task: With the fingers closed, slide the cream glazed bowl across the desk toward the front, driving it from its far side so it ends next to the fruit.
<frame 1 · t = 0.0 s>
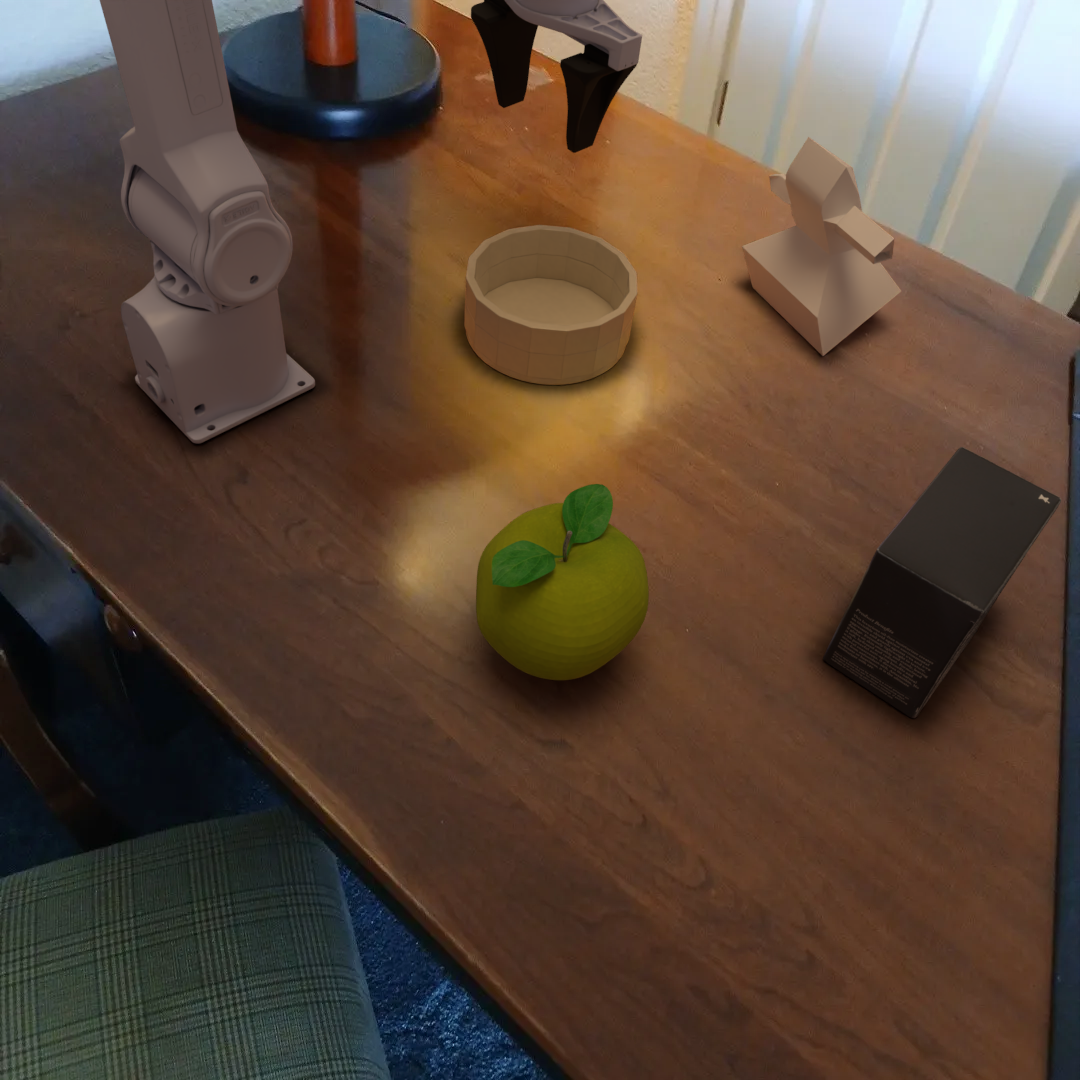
hand: (544, 124, 78), 10 cm above the table, tool pointing down, fingers open, 7 cm apart
bowl: (546, 330, 79), on the table
beige block sculpture: (805, 304, 83), on the table
fruit: (552, 646, 61), on the table
small box: (903, 635, 63), on the table
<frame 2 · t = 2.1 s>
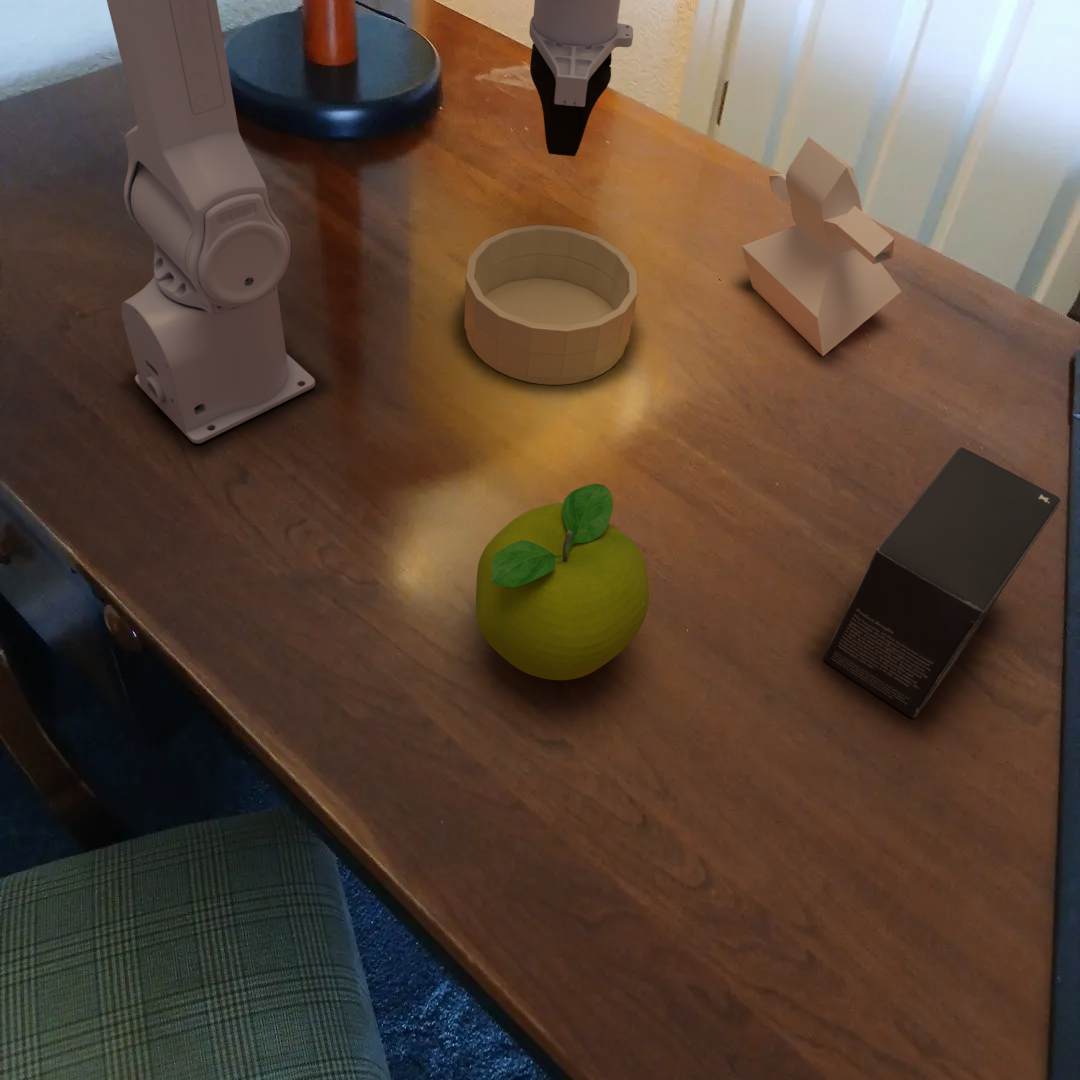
hand: (562, 150, 78), 9 cm above the table, tool pointing down, fingers closed
nothing on the table moved.
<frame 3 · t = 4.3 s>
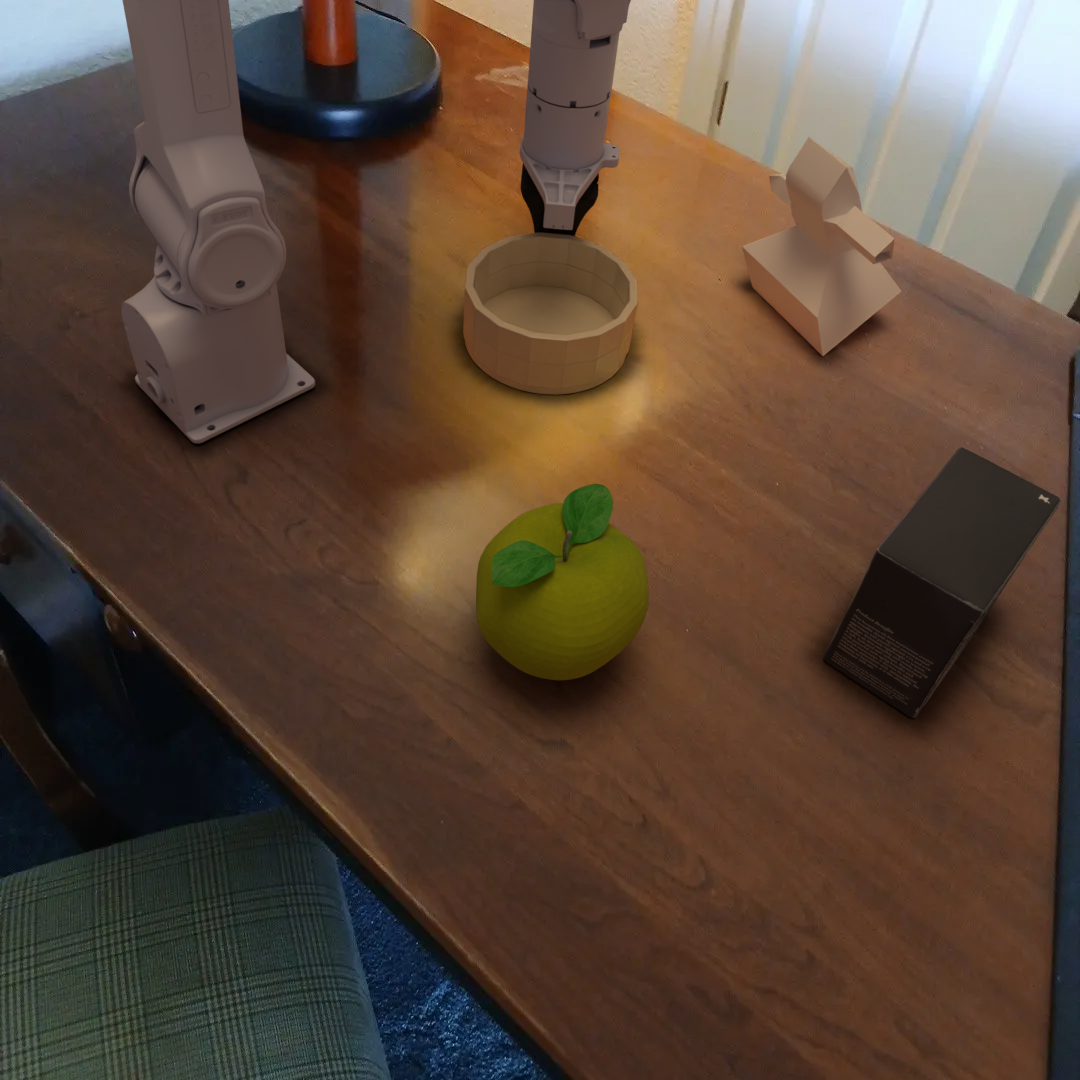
hand: (551, 256, 81), 2 cm above the table, tool pointing down, fingers closed
bowl: (546, 338, 78), on the table, touching gripper
everything else where it was.
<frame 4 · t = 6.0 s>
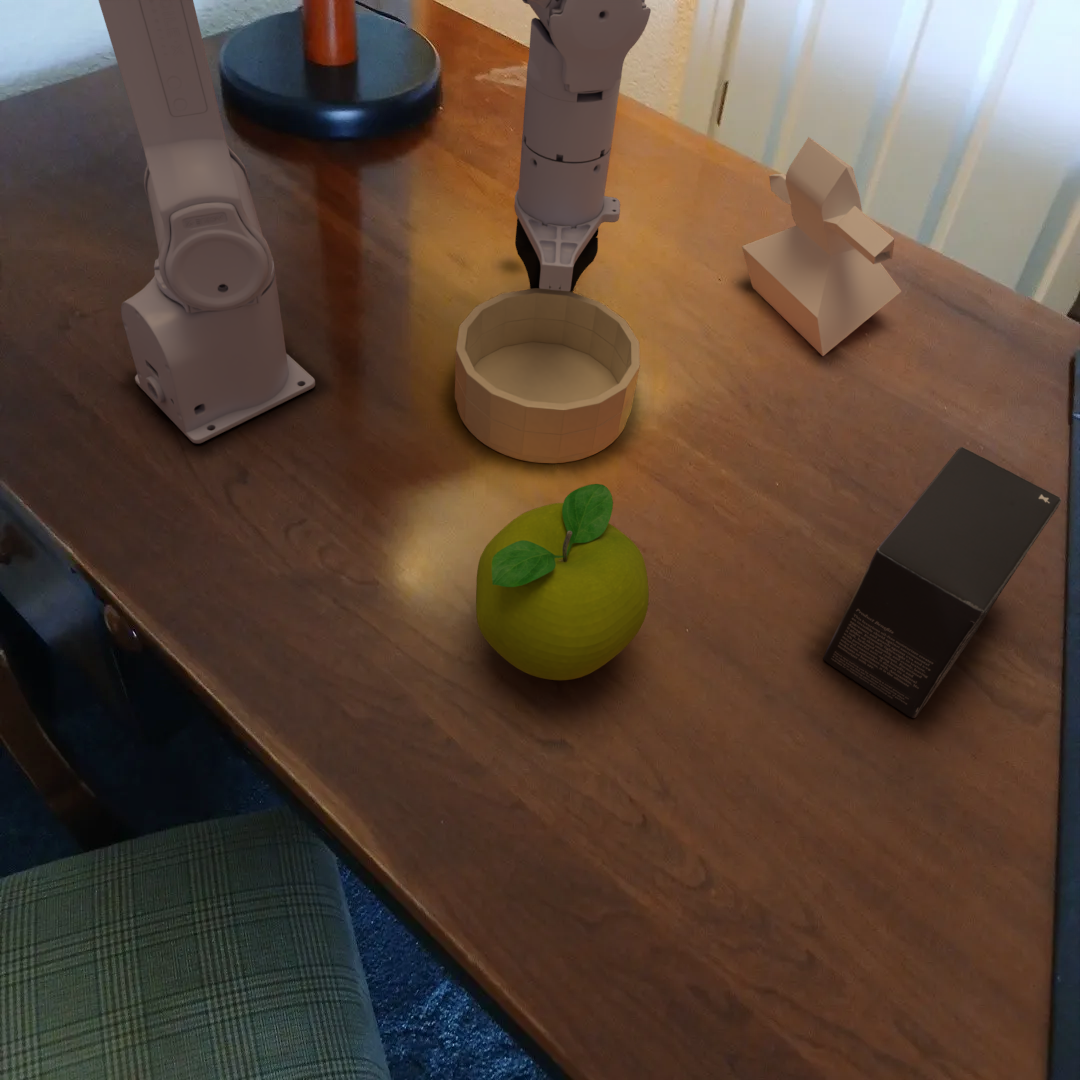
hand: (548, 311, 77), 2 cm above the table, tool pointing down, fingers closed
bowl: (542, 400, 74), on the table, touching gripper
everything else where it was.
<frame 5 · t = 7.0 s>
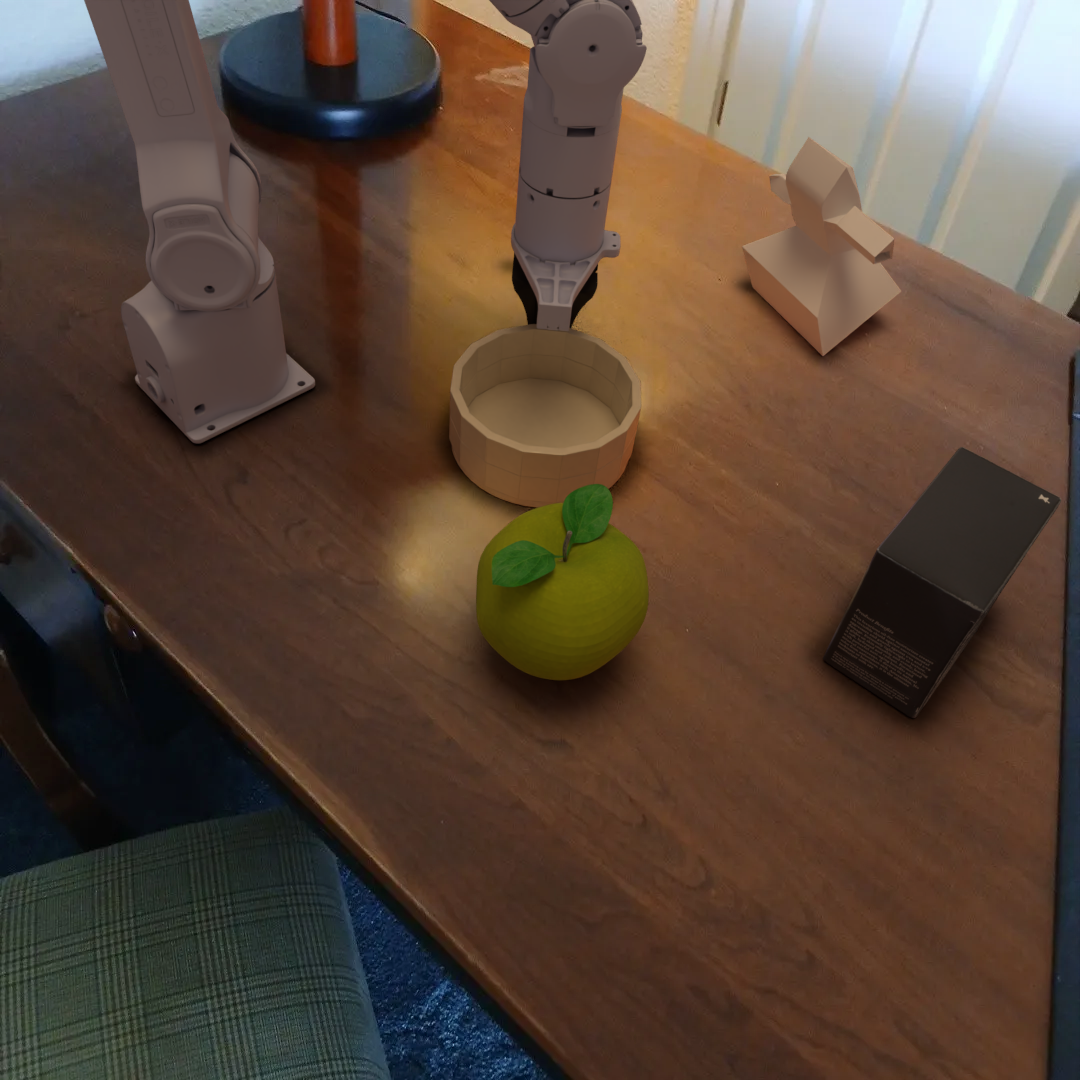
hand: (546, 346, 74), 2 cm above the table, tool pointing down, fingers closed
bowl: (540, 440, 71), on the table, touching gripper
everything else where it was.
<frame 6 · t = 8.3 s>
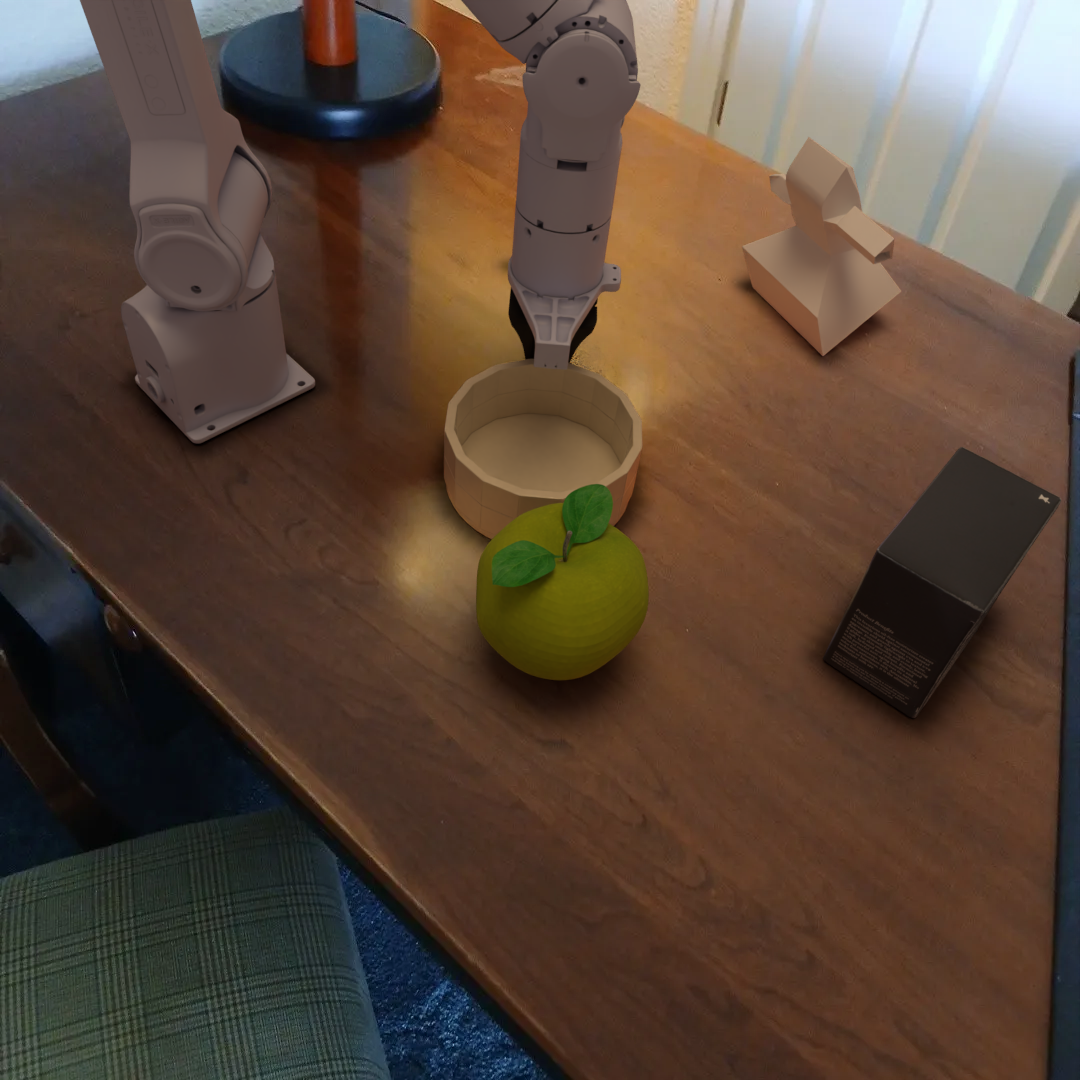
hand: (544, 380, 72), 2 cm above the table, tool pointing down, fingers closed
bowl: (538, 479, 69), on the table, touching gripper
everything else where it was.
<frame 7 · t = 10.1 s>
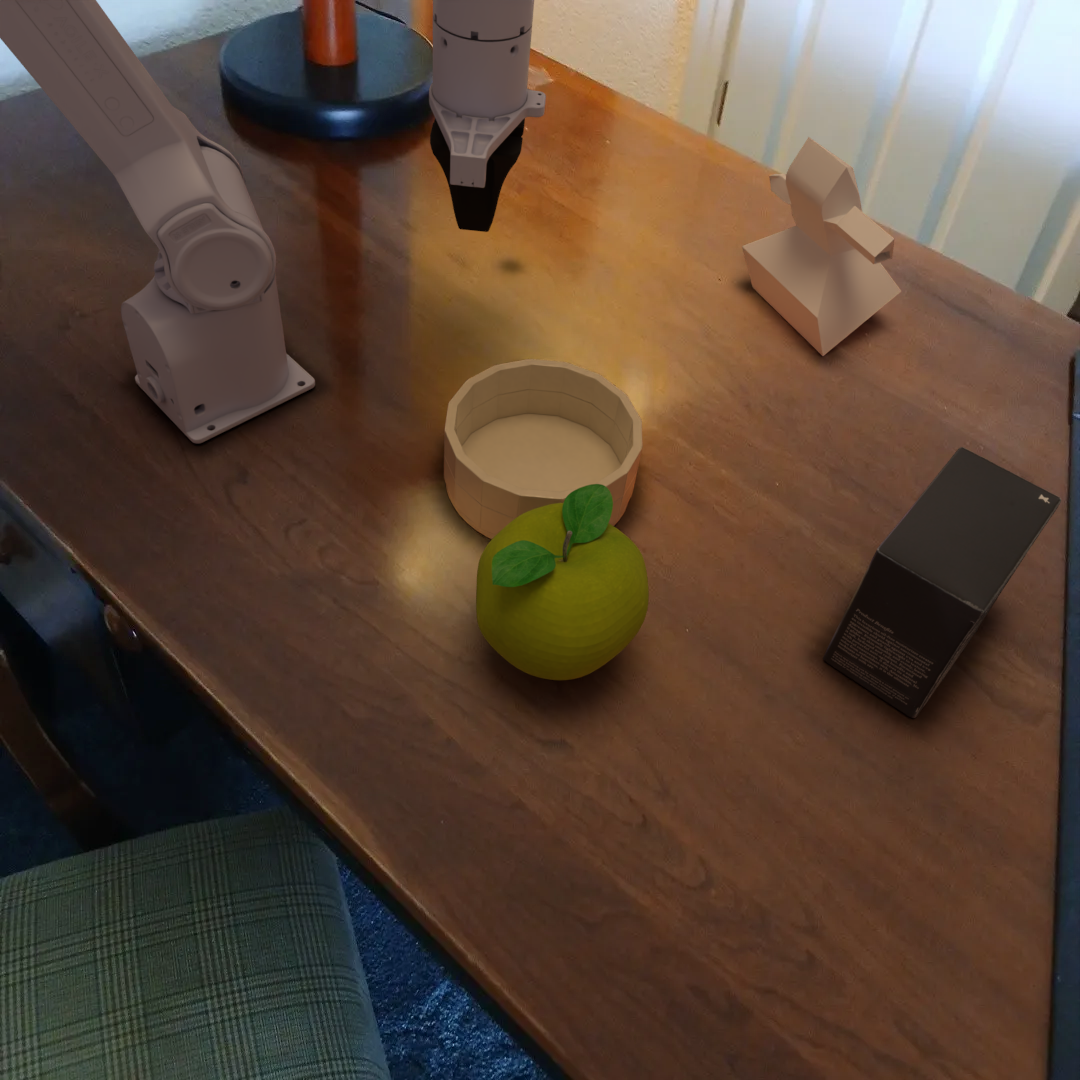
hand: (474, 224, 70), 9 cm above the table, tool pointing down, fingers closed
bowl: (538, 479, 69), on the table
everything else where it was.
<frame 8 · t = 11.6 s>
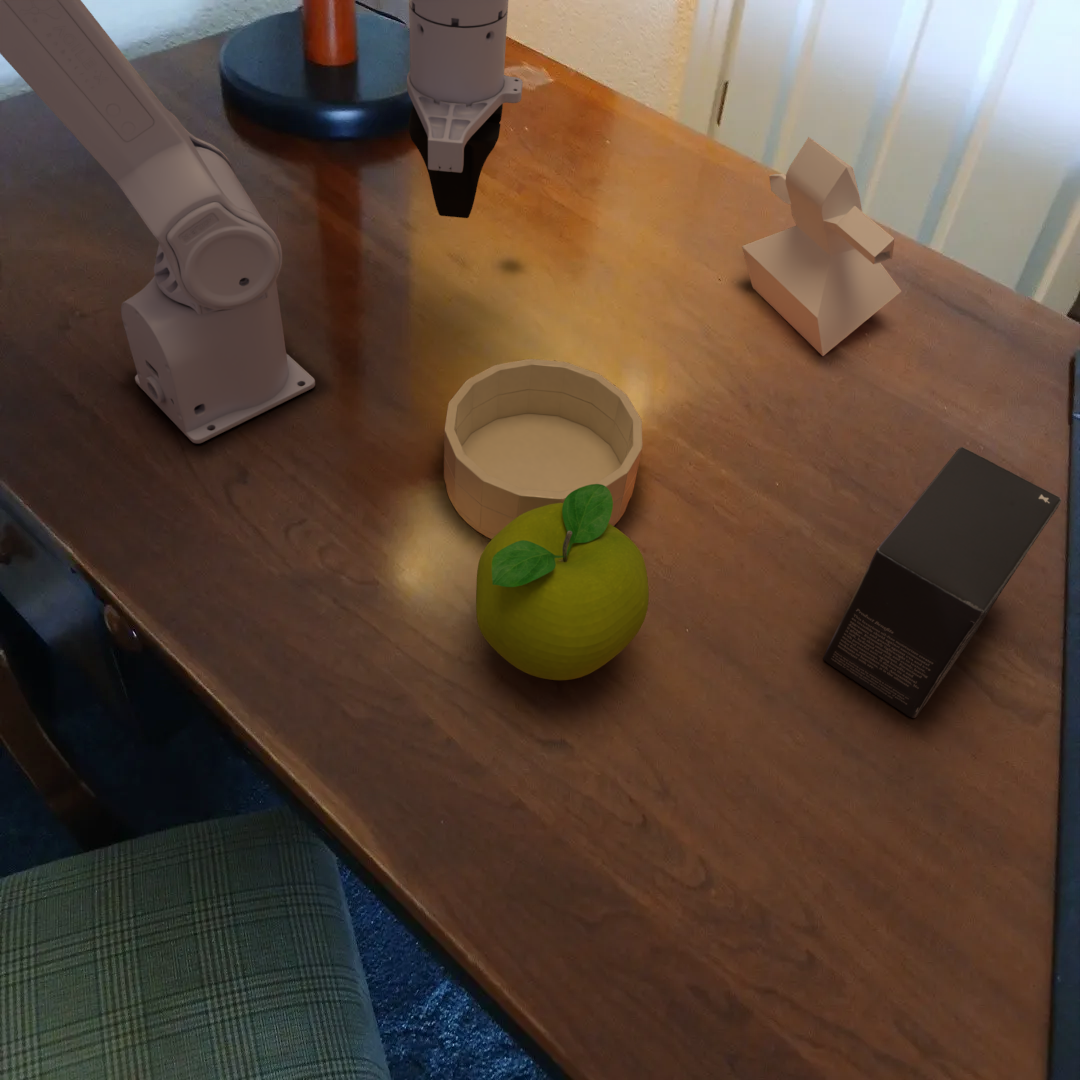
hand: (454, 211, 71), 9 cm above the table, tool pointing down, fingers closed
nothing on the table moved.
at the end: bowl moved 15.3 cm from its start; bowl 13.0 cm from the fruit (horizontally); bowl tilted 0° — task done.
